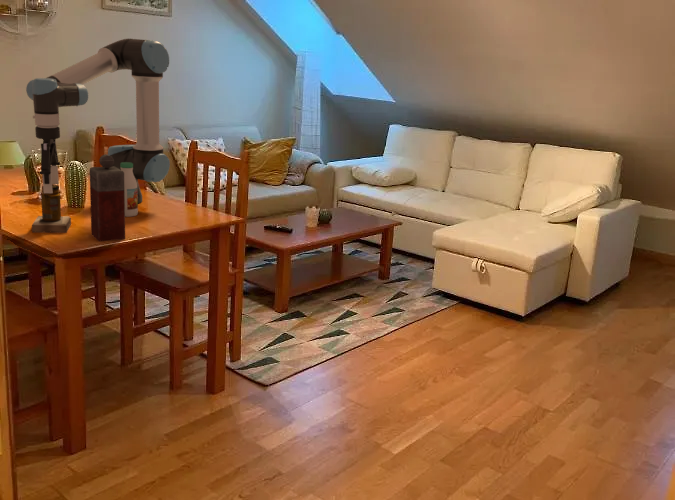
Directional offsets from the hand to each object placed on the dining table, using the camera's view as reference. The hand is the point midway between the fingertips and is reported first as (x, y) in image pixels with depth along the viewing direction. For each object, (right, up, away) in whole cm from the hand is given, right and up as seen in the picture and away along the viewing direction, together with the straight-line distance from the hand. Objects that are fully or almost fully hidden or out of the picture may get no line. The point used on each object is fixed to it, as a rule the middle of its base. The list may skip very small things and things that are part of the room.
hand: (51, 188), depth 237 cm
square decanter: (+19, -16, 0) cm, 25 cm away
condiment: (-1, -11, +2) cm, 11 cm away
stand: (-1, -13, +4) cm, 14 cm away
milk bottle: (+17, -8, +29) cm, 34 cm away
